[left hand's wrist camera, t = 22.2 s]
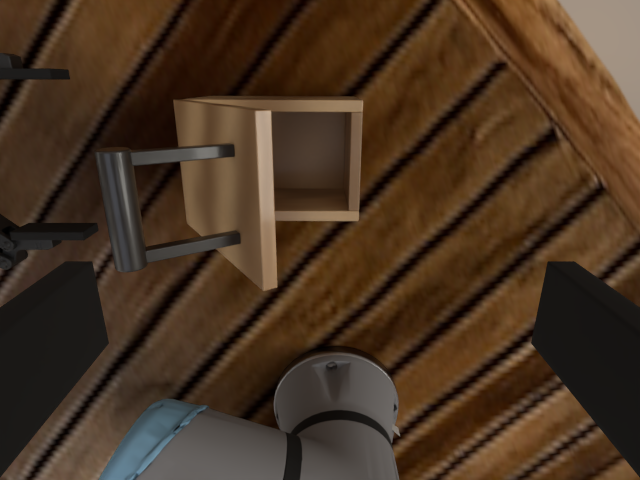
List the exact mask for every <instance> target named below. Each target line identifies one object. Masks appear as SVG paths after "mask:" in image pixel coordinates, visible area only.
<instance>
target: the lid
mask: <svg viewBox="0 0 640 480" xmlns="http://www.w3.org/2000/svg"><path fill="white" fill-rule="evenodd" d="M174 110H175V119H176V128H177V137H178V146H179V147H168V148H155V149H141V150H131V149H130V148H126V147H109V148H101V149H97V150H95V152H94V153H95V159H96V165H97V170H98V176H99V181H100V187H101V192H102V198H103V203H104V209H105V214H106V220H107V225H108V231H109V237H110V242H111V248H112V253H113V259H114V264H115V269H116V270H117V271H120V272H133V271H138V270H141V269H143V268H145V267H146V266H147V265H148V263H149V262H154V261H159V260H164V259H169V258H174V257H179V256H183V255H188V254H193V253H198V252H203V251H208V250H213V249H217V250H218V251H219V252H220V253H221V254H222V255H223V256H225V257H226V258H227V259H228V260H229V261H230V262H231V263H232V264H234V265H235V266H236V267H237V268H238V269H239V270H240V271H241V272H243V273H244V274H245V275H246V276H247V277H248V278H249V279H250V280H251V281H253V282H254V283H255V284H256V285H257V286H258V287H259V288H260V289H262V290H263V291H266V290H269V289H273V288H277V263H276V235H275V206H274V177H273V148H272V120H271V110H269V109H261V108H252V107H244V106H235V105H227V104H218V103H210V102H201V101H193V100H174ZM173 162H180V164H181V173H182V182H183V191H184V200H185V209H186V218H187V224H189V225H190V226H191V227H192V228H193V229H194V230H195V231H196V232H198V233H199V234H200V235H201V237H196V238H191V239H185V240H180V241H174V242H169V243H164V244H158V245H153V246H148V247H146V246H145V239H144V233H143V226H142V219H141V213H140V206H139V200H138V193H137V186H136V180H135V173H134V166H140V165H151V164H162V163H173Z"/></svg>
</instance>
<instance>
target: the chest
mask: <svg viewBox="0 0 640 480" xmlns="http://www.w3.org/2000/svg"><path fill="white" fill-rule="evenodd" d="M182 100H193V101H201V102H210V103H218V104H227V105H235V106H244V107H252V108H261V109H269V110H271V120H272V148H273V177H274V206H275V221H359V197H360V170H361V143H362V117H363V113H362V111H363V100H361V99H358V98H356V97H353V96H205V97H197V98H189V99H182Z"/></svg>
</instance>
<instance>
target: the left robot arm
mask: <svg viewBox="0 0 640 480" xmlns="http://www.w3.org/2000/svg"><path fill="white" fill-rule="evenodd" d="M108 344H109V342H108V337H107V332H106V327H105V322H104V317H103V312H102V307H101V302H100V298H99V293H98V288H97V283H96V278H95V273H94V268H93V263H92V262H64V263H63V264H61V265H60V266H59V267H57V268H56V269H54V270H53V271H51V272H50V273H49V274H47V275H46V276H44V277H43V278H42V279H40V280H39V281H37V282H36V283H34V284H33V285H32V286H30V287H29V288H27V289H26V290H24V291H23V292H22V293H20V294H19V295H17V296H16V297H15V298H13V299H12V300H10V301H9V302H7V303H6V304H5V305H3V306H2V307H0V477H1V476H2V474H3V473H4V472H5V471H6V470H7V468H8V467H9V466H10V465H11V463H12V462H13V461H14V460H15V458H16V457H17V456H18V455H19V453H20V452H21V451H22V450H23V449H24V447H25V446H26V445H27V444H28V442H29V441H30V440H31V439H32V437H33V436H34V435H35V434H36V432H37V431H38V430H39V429H40V428H41V426H42V425H43V424H44V423H45V421H46V420H47V419H48V418H49V416H50V415H51V414H52V413H53V411H54V410H55V409H56V408H57V407H58V405H59V404H60V403H61V402H62V400H63V399H64V398H65V397H66V395H67V394H68V393H69V392H70V390H71V389H72V388H73V387H74V386H75V384H76V383H77V382H78V381H79V379H80V378H81V377H82V376H83V374H84V373H85V372H86V371H87V369H88V368H89V367H90V366H91V365H92V363H93V362H94V361H95V360H96V358H97V357H98V356H99V355H100V353H101V352H102V351H103V350H104V348H105V347H106V346H107V345H108ZM531 344H532V345H533V346H534V347H535V348H536V350H537V351H538V352H539V353H540V355H541V356H542V357H543V358H544V360H545V361H546V362H547V363H548V365H549V366H550V367H551V368H552V369H553V371H554V372H555V373H556V374H557V376H558V377H559V378H560V379H561V381H562V382H563V383H564V384H565V386H566V387H567V388H568V389H569V390H570V392H571V393H572V394H573V395H574V397H575V398H576V399H577V400H578V402H579V403H580V404H581V405H582V407H583V408H584V409H585V410H586V411H587V413H588V414H589V415H590V416H591V418H592V419H593V420H594V421H595V423H596V424H597V425H598V426H599V428H600V429H601V430H602V431H603V432H604V434H605V435H606V436H607V437H608V439H609V440H610V441H611V442H612V444H613V445H614V446H615V447H616V449H617V450H618V451H619V452H620V453H621V455H622V456H623V457H624V458H625V460H626V461H627V462H628V463H629V465H630V466H631V467H632V468H633V470H634V471H635V472H636V473H637V474H638V476H639V477H640V307H638V306H637V305H635V304H634V303H633V302H631V301H630V300H628V299H627V298H625V297H624V296H623V295H621V294H620V293H618V292H617V291H615V290H614V289H613V288H611V287H610V286H608V285H607V284H606V283H604V282H603V281H601V280H600V279H598V278H597V277H596V276H594V275H593V274H591V273H590V272H589V271H587V270H586V269H584V268H583V267H581V266H580V265H579V264H577V263H576V262H548V263H547V268H546V273H545V278H544V283H543V288H542V293H541V298H540V302H539V307H538V312H537V317H536V322H535V327H534V332H533V337H532V342H531ZM274 412H275V417H276V420H277V423H278V426H279V428H280V430H278V429H275V428H271V427H268V426H265V425H262V424H258V423H255V422H252V421H248V420H245V419H242V418H239V417H235V416H232V415H229V414H225V413H222V412H219V411H216V410H213V409H210V408H209V406H207V405H195V404H191V403H187V402H183V401H178V400H175V399H162V400H159V401H157V402H155V403H153V404H152V405H151V406H149V407H148V408H147V409H146V410H145V411H144V412H143V413H142V414H141V416H140V417H139V418H138V419H137V420H136V422H135V423H134V424H133V426H132V427H131V428H130V430H129V431H128V433H127V434H126V436H125V437H124V439H123V440H122V442H121V443H120V445H119V446H118V448H117V449H116V451H115V453H114V454H113V456H112V457H111V459H110V461H109V462H108V464H107V466H106V468H105V469H104V471H103V473H102V474H101V476H100V478H99V480H399V477H398V472H397V467H396V462H395V457H394V453H393V448H392V439H393V434H394V432H395V433H397V434H398V435H399V436H400V434H399V429H398V427H396V426H395V422H396V419H397V414H398V395H397V391H396V387H395V383H394V381H393V378H392V376H391V374H390V373H389V371H388V370H387V368H386V367H385V366H384V365H383V364H382V363H381V362H380V361H378V360H377V359H376V358H374V357H373V356H371V355H369V354H367V353H365V352H363V351H360V350H357V349H353V348H348V347H325V348H320V349H316V350H313V351H310V352H308V353H306V354H304V355H302V356H300V357H298V358H297V359H295V360H294V361H293V362H292V363H291V364H290V365H289V366H288V367H287V368H286V369H285V370H284V371H283V373H282V374H281V376H280V378H279V380H278V383H277V386H276V392H275V399H274Z"/></svg>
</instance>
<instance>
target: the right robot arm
mask: <svg viewBox="0 0 640 480" xmlns="http://www.w3.org/2000/svg"><path fill="white" fill-rule="evenodd" d="M0 79H70V76H69V71H68V70H63V69H23V66H22V61H21V57H19V56H17V55H14V54H6V53H0ZM97 231H98V225H97V223H28V224H26V225H24V226H22V227H19V226H17V225H16V224H14V223H13V222H11V221H10V220H8V219H7V218H5V217H4V216H2V215H1V214H0V268H2V269H9V268H11V267H13V266H14V265H16V264H18V263H19V262H21V261H23V260H24V259H26V258H27V257H28V253H27V251H26V250H37V249H38V250H41V249H42V250H48V249H50V248H53V247H55V246H56V245H58V244H59V243H61V240H85V239H86V238H88V237H89V236H91V235H93V234H94V233H96V232H97Z"/></svg>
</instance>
